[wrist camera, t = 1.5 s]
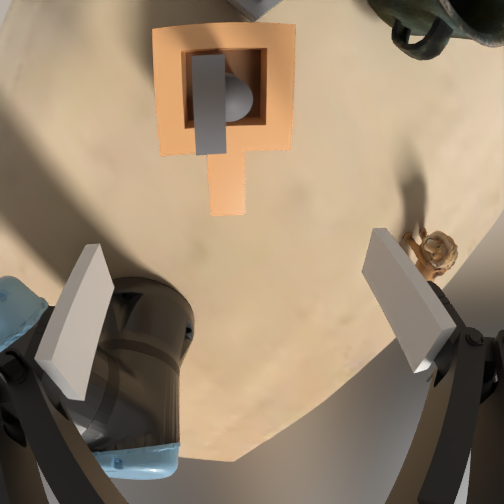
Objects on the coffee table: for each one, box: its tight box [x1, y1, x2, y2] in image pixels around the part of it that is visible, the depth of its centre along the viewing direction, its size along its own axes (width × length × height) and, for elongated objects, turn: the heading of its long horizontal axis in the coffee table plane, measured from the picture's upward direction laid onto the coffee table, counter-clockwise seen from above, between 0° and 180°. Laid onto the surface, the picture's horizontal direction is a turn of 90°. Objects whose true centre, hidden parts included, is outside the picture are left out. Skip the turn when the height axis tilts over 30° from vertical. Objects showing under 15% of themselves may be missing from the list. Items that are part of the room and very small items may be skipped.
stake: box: [185, 50, 261, 155], centre depth 17 cm, size 9×9×18 cm
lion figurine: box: [404, 229, 458, 282], centre depth 36 cm, size 15×5×9 cm, turn 5°
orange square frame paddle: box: [152, 22, 296, 216], centre depth 20 cm, size 14×9×3 cm, turn 0°
